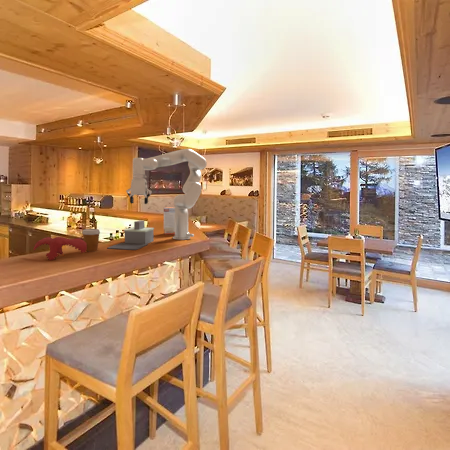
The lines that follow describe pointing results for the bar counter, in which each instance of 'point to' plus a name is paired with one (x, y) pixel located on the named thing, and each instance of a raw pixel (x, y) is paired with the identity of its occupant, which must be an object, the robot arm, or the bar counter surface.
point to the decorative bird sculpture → (60, 245)
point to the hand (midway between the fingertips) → (138, 203)
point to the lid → (139, 227)
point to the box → (139, 237)
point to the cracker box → (169, 220)
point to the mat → (127, 246)
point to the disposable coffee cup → (91, 239)
